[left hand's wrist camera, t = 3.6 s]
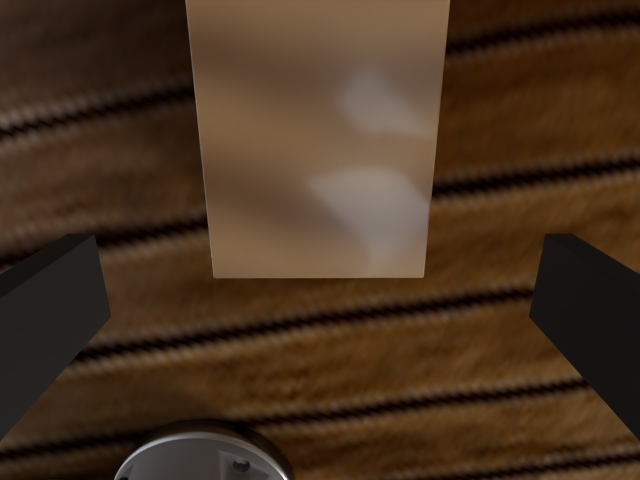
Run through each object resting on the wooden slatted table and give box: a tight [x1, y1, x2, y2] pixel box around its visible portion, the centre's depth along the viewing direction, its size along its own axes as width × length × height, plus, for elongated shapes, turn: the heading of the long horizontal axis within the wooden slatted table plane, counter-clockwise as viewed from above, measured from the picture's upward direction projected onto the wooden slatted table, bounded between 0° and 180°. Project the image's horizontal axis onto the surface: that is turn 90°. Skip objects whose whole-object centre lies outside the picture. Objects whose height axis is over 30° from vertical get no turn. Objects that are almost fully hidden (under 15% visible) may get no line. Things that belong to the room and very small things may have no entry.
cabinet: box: [185, 0, 450, 278], centre depth 20 cm, size 18×10×9 cm, turn 0°
